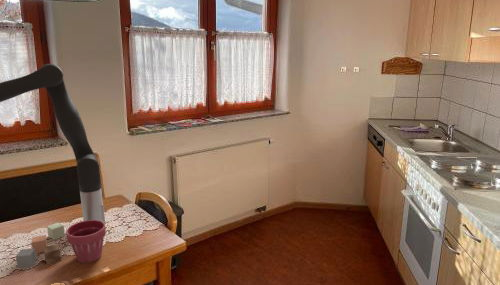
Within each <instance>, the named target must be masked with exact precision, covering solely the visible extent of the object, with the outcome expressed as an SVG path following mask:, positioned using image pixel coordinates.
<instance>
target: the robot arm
mask: <svg viewBox="0 0 500 285" xmlns="http://www.w3.org/2000/svg"><path fill="white" fill-rule="evenodd" d="M44 88H45V90H46V92H47V94H48V96H49V98H50V101H51V103H52V108H53V112H54V115H55V118H56V121H57V123H58V126H59V128H60V131H61V132H62V134H63V136H64V138H65V139H66V140H67V142H68V144H69V145H70V147H71V148H72V151H73V155H74V157H75V161H76V173H77V174H76V175H77V180H78V181H77V182H78V187H79V195H80V196H79V197H80V202H81V204H80V205H81V210H82V211H81V212H82V221H86V220H99V221H102V222H103V223H104V224H105V225H106V217H105V208H104V202H103V193H102V182H101V179H102V178H101V171H100V163H99V160H98V158H97V156H96V155H95V153H94V150H93V148H92V147H91V145H90V143H89V141H88V137H87V136H88V135H87V133H86V129H85V126H84V123H83V121H82V117H81V115H80V113H79V111H78V108H77V106H76V105H75V103H74V102H73V100H72V98H71V97H70V95H69V92H68V89H67V86H66V83H65V81H64V72H63V71H62V69H61V68H60V67H59V66H58V65H56V64H54V63H53V64H52V63H46V64H43V65H42V66H40V68H39V69H37V70H35V71H33V72H31V73H29V74H27V75H25V76H20V77H18V78H13V79H8V80H6V81H5V80H4V81H3V82H0V103H3V102H4V101H9V100H10V99H13V98H15V97H17V96H20V95H23V94H25V93H29V92H31V91H36V90H40V89H44Z"/></svg>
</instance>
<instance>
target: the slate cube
mask: <svg viewBox="0 0 500 285" xmlns="http://www.w3.org/2000/svg"><path fill="white" fill-rule="evenodd" d="M15 258H16V260H15V261H16V265H17V268H18V269H22V268H32V267H33V266H34V265H35V263H36V261H37V253H36V252H35V248H34V249H32V248H24V249H20V251H19V252H18V253H17V254H16V256H15Z"/></svg>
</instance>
